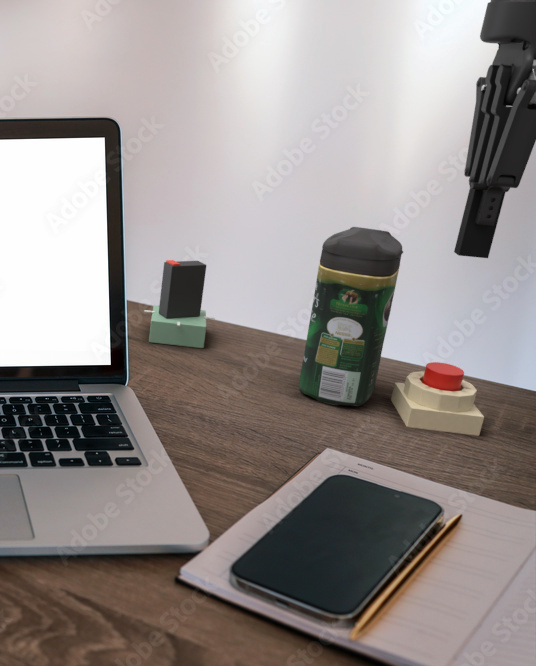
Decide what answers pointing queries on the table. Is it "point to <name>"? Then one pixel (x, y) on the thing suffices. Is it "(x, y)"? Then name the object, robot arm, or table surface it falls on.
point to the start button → (443, 376)
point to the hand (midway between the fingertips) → (470, 254)
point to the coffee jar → (350, 315)
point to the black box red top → (182, 289)
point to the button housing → (437, 406)
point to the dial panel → (178, 329)
